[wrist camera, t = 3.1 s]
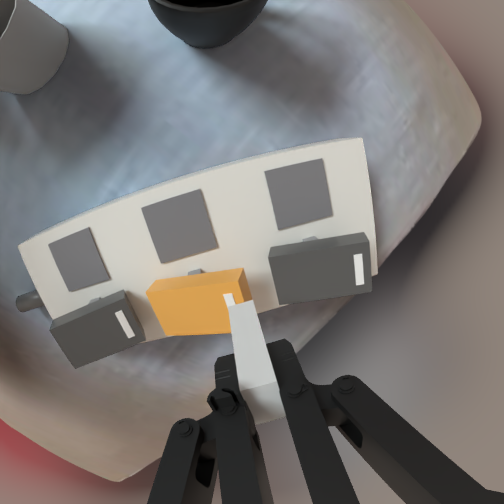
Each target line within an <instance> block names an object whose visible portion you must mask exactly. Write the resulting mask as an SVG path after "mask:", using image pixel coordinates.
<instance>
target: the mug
mask: <svg viewBox="0 0 504 504" xmlns="http://www.w3.org/2000/svg"><path fill="white" fill-rule="evenodd" d="M267 1H268V0H148V2H149V4H150V7H151V9H152V11H153V12H154V14H155V15H156V17H157V18H158V20H159V21H160V22H161V23H162V24H163V25H164V26H165V27H166V28H167V29H168V30H169V31H170V32H171V33H172V34H174V35H175V36H176V37H178V38H180V39H182V40H183V41H184V42H186V43H187V44H189V45H191V46H194V47H197V48H214V47H218V46H221V45H223V44H226V43H227V42H229V41H230V40H232V39H233V38H234V37H235V36H237V35H238V34H240V33H241V32H242V31H243V30H244V29H246V28H247V27H248V26H249V25H250V24H251V23H252V22H253V21H254V20H255V19H256V17H257V16H258V15H259V13H260V12H261V11H262V9H263V7H264V6H265V4H266V3H267Z"/></svg>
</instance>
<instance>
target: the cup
mask: <svg viewBox="0 0 504 504" xmlns="http://www.w3.org/2000/svg"><path fill="white" fill-rule="evenodd" d="M68 45H69V37H68V31H67V28H65V27H64V26H63V25H61V24H60V23H59V22H57V21H56V20H55V19H53V18H52V17H51V16H49V15H48V14H47V13H45V12H44V11H43V10H41V9H40V8H38V7H37V6H36V5H34V4H33V3H31V2H30V1H28V0H0V91H3V92H9V93H14V94H23V95H28V94H30V93H32V92H34V91H36V90H38V89H40V88H42V87H43V86H44V85H45V84H46V83H47V82H48V81H49V80H50V79H51V78H52V77H53V76H54V75H55V73H56V72H57V70H58V68H59V67H60V65H61V63H62V62H63V60H64V59H65V56H66V52H67V48H68Z"/></svg>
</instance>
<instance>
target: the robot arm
mask: <svg viewBox="0 0 504 504" xmlns="http://www.w3.org/2000/svg"><path fill="white" fill-rule="evenodd" d="M228 311H229V319H230V326H231V334H232V341H233V348H234V354H230V355H226V356H222V357H218V359H217V361H216V363H215V365H214V366H215V383H216V389H214V390H213V391H212V392H211V393H210V394H209V396H208V398H207V402H208V404H209V405H210V407H211V409H212V410H213V412H212V413H211V414H209V415H208V416H206V417H204V418H202V419H200V420H198V421H195V420H194V419H190V418H185V419H181V420H179V421H177V422H176V423H175V424H174V425H173V427H172V428H171V431H170V434H169V437H168V440H167V443H166V446H165V449H164V452H163V455H162V458H161V461H160V465H159V468H158V471H157V474H156V477H155V480H154V483H153V486H152V490H151V493H150V496H149V499H148V503H147V504H211V502H212V497H213V492H214V486H215V481H216V476H217V471H218V470H219V479H220V489H221V497H222V504H274V502H273V498H272V494H271V489H270V485H269V480H268V476H267V472H266V467H265V463H264V458H263V453H262V449H261V444H260V439H259V435H258V432H257V430H256V427H255V424H256V425H257V424H261V423H265V422H268V421H272V420H276V419H280V418H283V417H287V420H288V424H289V427H290V430H291V434H292V437H293V441H294V444H295V447H296V451H297V454H298V457H299V460H300V464H301V467H302V470H303V473H304V477H305V480H306V483H307V486H308V489H309V492H310V496H311V499H312V502H313V504H360V503H359V501H358V499H357V496H356V494H355V491H354V489H353V486H352V484H351V482H350V479H349V477H348V474H347V472H346V470H345V467H344V465H343V462H342V460H341V457H340V455H339V453H338V451H337V448H336V445H335V443H334V441H333V438H332V436H331V434H330V431H329V429H328V426H336V428H337V429H338V430H339V431H340V432H341V434H342V435H343V436H344V437H345V438H346V439H347V440H348V442H349V443H350V444H351V445H352V446H353V447H354V448H355V449H356V451H357V452H358V453H359V454H360V455H361V456H362V457H363V458H364V460H365V461H366V462H367V463H368V464H369V465H370V466H371V467H372V468H373V469H374V471H375V472H376V473H378V475H379V476H380V477H381V478H382V479H383V480H384V481H385V482H386V483H387V484H388V485H389V487H390V488H391V489H392V490H393V491H394V492H395V493H396V494H397V495H398V496H399V497H400V498H401V499H402V500H403V501H404V502H405V503H406V504H504V493H501V492H496V491H491V490H487V489H485V488H484V487H483V486H481V485H480V484H479V483H478V482H476V481H475V480H474V479H473V478H472V477H471V476H469V475H468V474H467V473H466V472H465V471H463V470H462V469H461V468H460V467H459V466H457V465H456V464H455V463H454V462H453V461H451V460H450V459H449V458H448V457H447V456H446V455H444V454H443V453H442V452H441V451H440V450H439V449H438V448H436V447H435V446H434V445H433V444H432V443H431V442H430V441H428V440H427V439H426V438H425V437H424V436H423V435H421V434H420V433H419V432H418V431H417V430H416V429H415V428H414V427H412V426H411V425H410V424H409V423H408V422H407V421H406V420H404V419H403V418H402V417H401V416H400V415H399V414H398V413H397V412H395V411H394V410H393V409H392V408H391V407H390V406H389V405H388V404H387V403H385V402H384V401H383V400H382V399H381V398H380V397H379V396H378V395H376V394H375V393H374V392H373V391H372V390H371V389H370V388H369V387H368V386H367V385H366V384H364V383H363V382H362V381H361V380H360V379H359V378H357V377H355V376H351V375H345V376H341V377H339V378H337V379H336V380H335V381H333V383H332V384H331V385H315V384H312V383H310V382H309V381H308V380H307V379H306V378H305V375H304V373H303V371H302V368H301V366H300V363H299V361H298V359H297V356H296V354H295V352H294V349H293V347H292V344H291V343H290V342H289V341H287V340H286V339H282V340H278V341H275V342H272V343H268V344H266V343H265V340H264V336H263V333H262V330H261V326H260V323H259V319H258V316H257V313H256V309H255V306H254V302H253V300H250V301H247V302H243V303H240V304H236V305H232V306H229V307H228Z"/></svg>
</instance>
